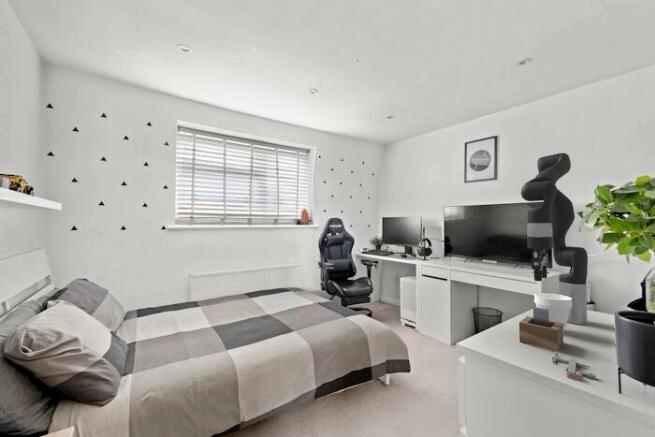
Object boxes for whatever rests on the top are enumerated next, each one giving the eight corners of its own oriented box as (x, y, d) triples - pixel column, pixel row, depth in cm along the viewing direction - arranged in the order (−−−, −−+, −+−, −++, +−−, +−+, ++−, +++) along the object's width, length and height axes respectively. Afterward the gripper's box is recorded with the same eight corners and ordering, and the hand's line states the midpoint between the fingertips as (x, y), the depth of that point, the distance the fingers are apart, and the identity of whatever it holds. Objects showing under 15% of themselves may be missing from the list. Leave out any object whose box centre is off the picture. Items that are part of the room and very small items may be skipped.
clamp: (596, 379, 76) (548, 366, 83) (596, 387, 76) (549, 374, 82) (595, 359, 87) (553, 350, 94) (595, 366, 87) (553, 356, 94)
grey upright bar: (535, 338, 107) (534, 306, 108) (549, 342, 104) (549, 309, 105) (532, 342, 104) (531, 309, 105) (547, 345, 101) (546, 311, 102)
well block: (527, 334, 112) (526, 316, 112) (563, 342, 104) (562, 323, 104) (519, 342, 104) (519, 322, 105) (557, 351, 96) (557, 330, 97)
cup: (570, 328, 118) (569, 295, 119) (575, 338, 108) (574, 301, 109) (534, 323, 125) (533, 291, 126) (535, 331, 115) (534, 297, 115)
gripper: (532, 234, 114) (533, 275, 113) (522, 235, 104) (523, 280, 103) (556, 235, 108) (557, 278, 108) (548, 236, 98) (549, 283, 98)
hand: (540, 279), depth 106 cm, fingers open, 8 cm apart
